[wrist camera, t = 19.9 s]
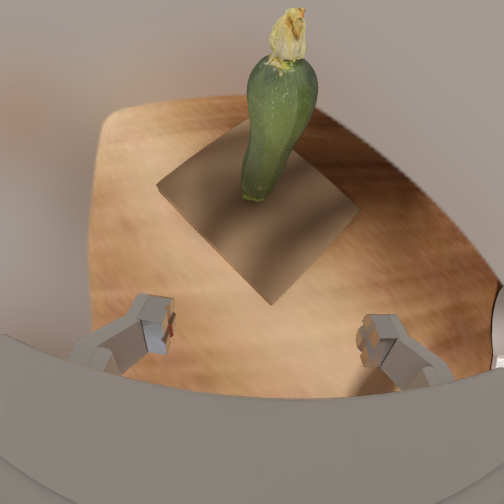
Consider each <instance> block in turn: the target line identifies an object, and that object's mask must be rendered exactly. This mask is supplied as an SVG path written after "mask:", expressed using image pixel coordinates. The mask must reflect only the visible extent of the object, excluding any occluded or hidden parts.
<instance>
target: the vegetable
mask: <svg viewBox="0 0 504 504" xmlns="http://www.w3.org/2000/svg"><path fill="white" fill-rule="evenodd" d="M305 11H306V10H305V9H303V8H298V7H297V8H291V9H288V10H286V11H285V12H286V13H285V15H284V16H283V17H281V18H279V20H278V22H276V24H275V25H274V27H273V29H272V31H271V34H270V36H269V44H270V47H271V49H272V50H273V52H274V53H273V54H270V55H267V56H266V57H264V58H263V59H261V61H259V62H258V64H257V65H256V66H255V67H254V69H253V70H252V72H251V74H250V76H249V80H248V85H247V101H248V110H249V118H250V136H249V143H248V147H247V149H246V152H245V155H244V159H243V164H242V171H241V188H242V192H243V195H242V198H243V199H246V200H250V201H251V200H253V201H256V202H259V201H263V200H264V198H265V197H267V196H268V195H269V194H270V193H271V192H272V191H273V189H274V187H275V185H276V183H277V181H278V179H279V178H280V176H281V174H282V172H283V170H284V168H285V166H286V163H287V160H288V158H289V156H290V153H291V151H292V149H293V147H294V145H295V143H296V141H297V140H298V139H299V137H300V136H301V135H302V133H303V132H304V130H305V128H306V127H307V125H308V123H309V120H310V118H311V116H312V113H313V111H314V108H315V105H316V101H317V94H318V81H317V77H316V74H315V72H314V70H313V68H312V67H311V65H310V64H309V63H308V62H307V61H306V60H305V59H303V57H304V55H305V52H306V41H305V28H306V23H305V19H304V18H303V17H304V12H305Z"/></svg>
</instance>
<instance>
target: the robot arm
mask: <svg viewBox="0 0 504 504" xmlns="http://www.w3.org/2000/svg"><path fill="white" fill-rule="evenodd" d="M174 307H175V302H174V299H173V298H169V297H163V296H157V295H150V294H145V293H139V294H138V295H137V296H136V298H135V300H134V301H133V303H132V305H131V307H130V309H129V310H128V312H127V314H126V316H125V317H120V318H118V319H116V320H114V321H113V322H111V323H109V324H107V325H105V326H103V327H102V328H100V329H98V330H96V331H94V332H93V333H91V334H89V335H87V336H85V337H84V338H82V339H80V340H79V341H78V343H77V344H76V346H75V348H74V350H73V351H72V353H71V354H70V356H69V358H68V360H67V359H64V358H61V357H59V356H56V355H53V354H51V353H48V352H46V351H43V350H41V349H38V348H36V347H34V346H31V345H29V344H26V343H24V342H22V341H20V340H18V339H16V338H14V337H12V336H10V335H7V334H1V335H0V504H504V286H503V287H502V288H501V290H500V292H499V294H498V296H497V299H496V303H495V307H494V313H493V321H492V343H493V359H492V366H491V370H490V371H487V372H484V373H480V374H477V375H474V376H470V377H466V378H463V379H459V380H455V379H454V377H453V375H452V373H451V371H450V369H449V367H448V365H447V363H446V362H444V361H443V360H442V359H440V358H439V357H438V356H436V355H435V354H433V353H432V352H431V351H429V350H428V349H427V348H425V347H424V346H423V345H421V344H420V343H418V342H417V341H416V340H414V339H413V338H409V336H408V334H407V333H406V331H405V329H404V327H403V325H402V323H401V322H400V320H399V318H398V316H397V315H396V314H366V315H365V316H364V318H363V320H362V322H363V326H361V327H360V328H359V329H358V332H357V334H356V345H357V348H358V349H359V350H360V351H361V352H362V353H361V355H360V357H361V360H362V363H363V366H364V367H380V368H381V369H382V370H383V371H384V372H385V373H386V375H387V376H388V377H389V378H390V379H391V380H392V381H393V382H394V383H395V384H396V385H397V386H398V387H399V388H400V389H401V390H402V391H398V392H391V393H383V394H375V395H365V396H353V397H337V398H263V397H247V396H235V395H225V394H216V393H207V392H200V391H193V390H186V389H180V388H174V387H169V386H164V385H158V384H154V383H149V382H144V381H140V380H135V379H131V378H127V377H123V376H121V375H122V374H123V373H124V372H126V371H127V370H128V369H129V368H130V367H131V366H133V365H134V364H135V363H136V362H137V361H139V360H140V359H141V358H142V357H143V356H145V355H146V354H147V352H151V353H157V354H164V355H167V353H168V350H169V347H170V344H171V341H170V337H172V336H173V335H174V332H175V327H176V314H175V313H174V312H173V310H174Z"/></svg>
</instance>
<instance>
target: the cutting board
mask: <svg viewBox="0 0 504 504" xmlns="http://www.w3.org/2000/svg"><path fill="white" fill-rule="evenodd" d="M249 136H250V118H249V119H247V120H246V121H244V122H242V123H241V124H239V125H238V126H236V127H235V128H233V129H231V130H230V131H228V132H227V133H225V134H224V135H222V136H221V137H219V138H218V139H216V140H215V141H214V142H212V143H211V144H209V145H208V146H206V147H205V148H204V149H202V150H201V151H199V152H198V153H196V154H195V155H194V156H192V157H191V158H190V159H188V160H187V161H186V162H184V163H183V164H182V165H180V166H179V167H178V168H176V169H175V170H174V171H172V172H171V173H170V174H168V175H167V176H166V177H165V178H163V179H162V180H161V181H160V182H158V183H157V184H156V185H157V187H158V190H159V191H160V193H161V194H162V195H163V196H164V197H165V198H166V199H167V200H168V201H169V202H170V203H171V204H172V205H173V206H174V207H175V208H176V209H177V211H178V212H179V213H180V214H181V215H182V216H183V217H184V218H185V219H186V220H187V221H188V222H189V223H190V224H191V225H192V226H193V227H194V228H195V229H196V230H197V231H198V232H199V233H200V235H201V236H202V237H203V238H204V239H205V240H206V241H207V242H208V243H209V244H210V245H211V246H212V247H213V248H214V249H215V250H216V251H217V252H218V253H219V254H220V255H221V256H222V257H223V258H224V259H225V260H226V261H227V262H228V263H229V264H230V265H231V266H232V267H233V268H234V269H235V270H236V271H237V272H238V273H239V274H240V275H241V276H242V277H243V278H244V279H245V280H246V281H247V282H248V283H249V284H250V285H251V286H252V287H253V288H254V289H255V290H256V291H257V292H258V293H259V294H260V295H261V296H262V297H263V298H264V299H265V300H266V301H267V302H268V303H269V304H270V305H273V304H274V303H275V302H276V301H277V300H278V299H279V298H280V297H281V296H282V295H283V294H284V293H285V292H286V291H287V290H288V289H289V288H290V287H291V285H292V284H293V283H294V282H295V281H296V280H297V279H298V278H299V277H300V276H301V275H302V274H303V273H304V272H305V271H306V270H307V269H308V268H309V266H310V265H311V264H312V263H313V262H314V261H315V260H316V259H317V258H318V257H319V256H320V255H321V254H322V252H323V251H324V250H325V249H326V248H327V247H328V246H329V245H330V244H331V243H332V241H333V240H334V239H335V238H336V237H337V236H338V235H339V234H340V233H341V231H342V230H343V229H344V228H345V227H346V226H347V225H348V223H349V222H350V221H351V220H352V219H353V218H354V217H355V215H356V214H357V213H358V212H359V211H360V210H361V209H360V208H359V207H358V206H356V205H355V204H354V203H353V202H352V201H351V200H350V199H349V198H348V197H347V196H346V195H345V194H344V193H343V192H341V191H340V190H339V189H338V188H337V187H336V186H335V185H334V184H333V183H332V182H330V181H329V180H328V179H327V178H326V177H325V176H324V175H322V174H321V173H320V172H319V171H318V170H317V169H315V168H314V167H313V166H312V165H311V164H310V163H308V162H307V161H306V160H305V159H304V158H302V157H301V156H300V155H299V154H298V153H296V152H295V151H294V150H293V149H292V151H291V153H290V156H289V158H288V160H287V163H286V166H285V168H284V170H283V172H282V174H281V176H280V178H279V179H278V181H277V183H276V185H275V187H274V189H273V191H272V192H271V193H270V194H269V195H268V196H267V197H265V198H264V200H263V201H259V202H256V201H253V200H251V201H250V200H246V199H243V198H242V195H243V192H242V188H241V171H242V164H243V159H244V155H245V152H246V149H247V147H248V143H249Z"/></svg>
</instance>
